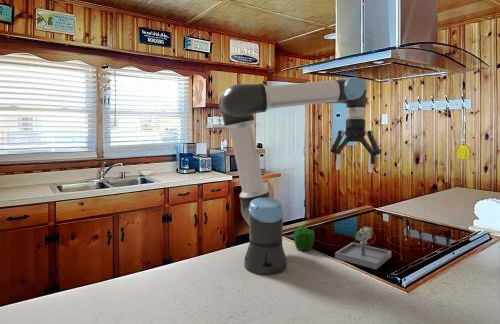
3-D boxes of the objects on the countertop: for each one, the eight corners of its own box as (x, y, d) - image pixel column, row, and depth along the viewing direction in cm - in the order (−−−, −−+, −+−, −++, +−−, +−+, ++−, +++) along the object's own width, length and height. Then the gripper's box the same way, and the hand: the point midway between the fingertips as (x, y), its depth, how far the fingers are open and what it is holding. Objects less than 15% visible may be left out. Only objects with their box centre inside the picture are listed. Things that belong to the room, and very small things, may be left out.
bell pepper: (311, 245, 139) (312, 222, 138) (316, 252, 131) (317, 227, 130) (291, 245, 138) (292, 222, 137) (295, 252, 130) (295, 227, 129)
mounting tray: (334, 258, 125) (335, 252, 124) (352, 247, 136) (352, 242, 136) (376, 269, 115) (376, 263, 114) (391, 256, 126) (391, 251, 126)
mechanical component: (353, 257, 123) (354, 231, 122) (364, 250, 130) (365, 225, 129) (361, 259, 121) (362, 233, 120) (372, 252, 128) (373, 227, 127)
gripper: (323, 119, 138) (322, 169, 140) (383, 117, 122) (381, 174, 124) (331, 119, 144) (330, 167, 146) (390, 118, 128) (388, 172, 129)
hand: (353, 170), depth 135 cm, fingers open, 13 cm apart
